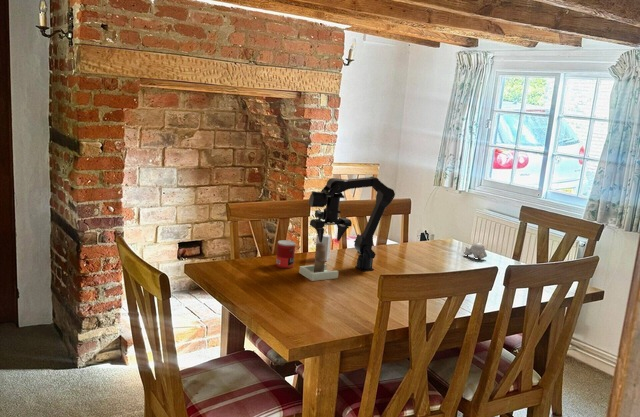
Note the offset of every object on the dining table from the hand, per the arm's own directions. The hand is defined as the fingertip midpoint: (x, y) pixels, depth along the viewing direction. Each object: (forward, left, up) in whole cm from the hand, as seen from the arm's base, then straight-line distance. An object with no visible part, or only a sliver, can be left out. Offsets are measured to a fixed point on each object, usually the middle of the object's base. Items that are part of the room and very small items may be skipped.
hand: (329, 241), depth 257 cm
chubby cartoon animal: (-87, +5, -13) cm, 88 cm away
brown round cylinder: (+8, +6, -12) cm, 16 cm away
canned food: (+16, -10, -13) cm, 23 cm away
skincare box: (-6, -14, -13) cm, 20 cm away
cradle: (+8, +6, -13) cm, 16 cm away
